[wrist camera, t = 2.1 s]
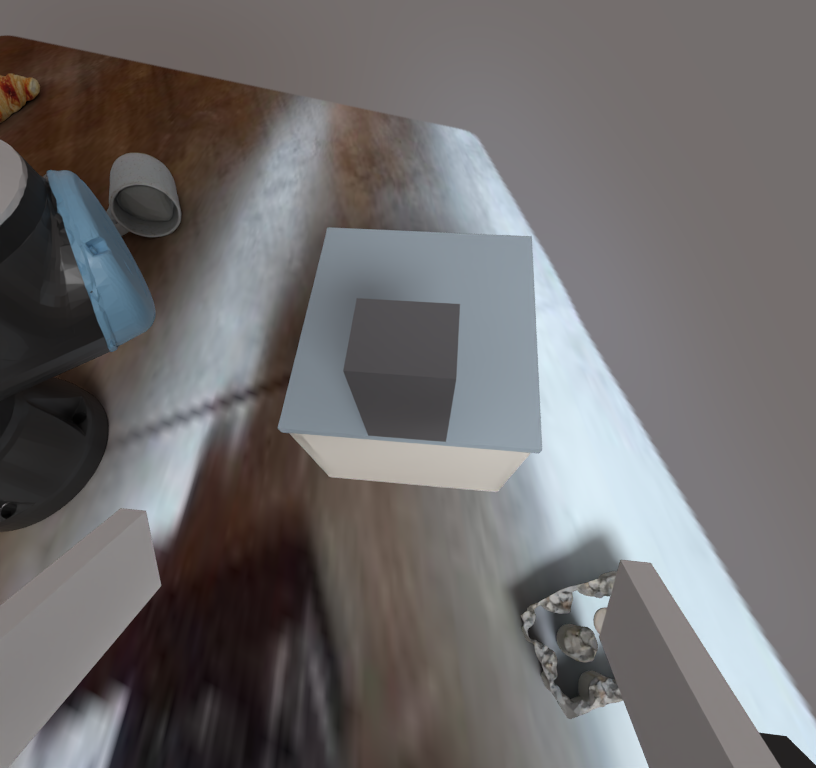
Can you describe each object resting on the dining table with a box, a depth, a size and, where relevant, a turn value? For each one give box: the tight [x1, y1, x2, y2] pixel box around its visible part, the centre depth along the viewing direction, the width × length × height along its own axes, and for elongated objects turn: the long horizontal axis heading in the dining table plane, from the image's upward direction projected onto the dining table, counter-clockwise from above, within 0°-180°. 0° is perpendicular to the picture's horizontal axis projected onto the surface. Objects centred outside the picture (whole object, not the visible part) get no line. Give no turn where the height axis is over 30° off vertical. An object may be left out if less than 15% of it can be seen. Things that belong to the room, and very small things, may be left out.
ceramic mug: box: [106, 152, 181, 237], centre depth 52 cm, size 11×8×8 cm
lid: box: [278, 228, 542, 453], centre depth 26 cm, size 18×17×10 cm
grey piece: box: [520, 571, 623, 719], centre depth 31 cm, size 11×8×4 cm
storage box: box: [290, 433, 530, 492], centre depth 36 cm, size 18×16×13 cm
